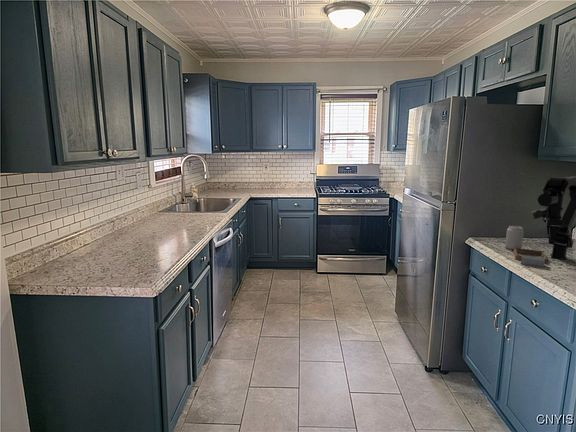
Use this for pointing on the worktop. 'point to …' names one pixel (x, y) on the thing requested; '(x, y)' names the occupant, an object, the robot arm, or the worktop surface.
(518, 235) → the can
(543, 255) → the walnut box
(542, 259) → the dark gray box
